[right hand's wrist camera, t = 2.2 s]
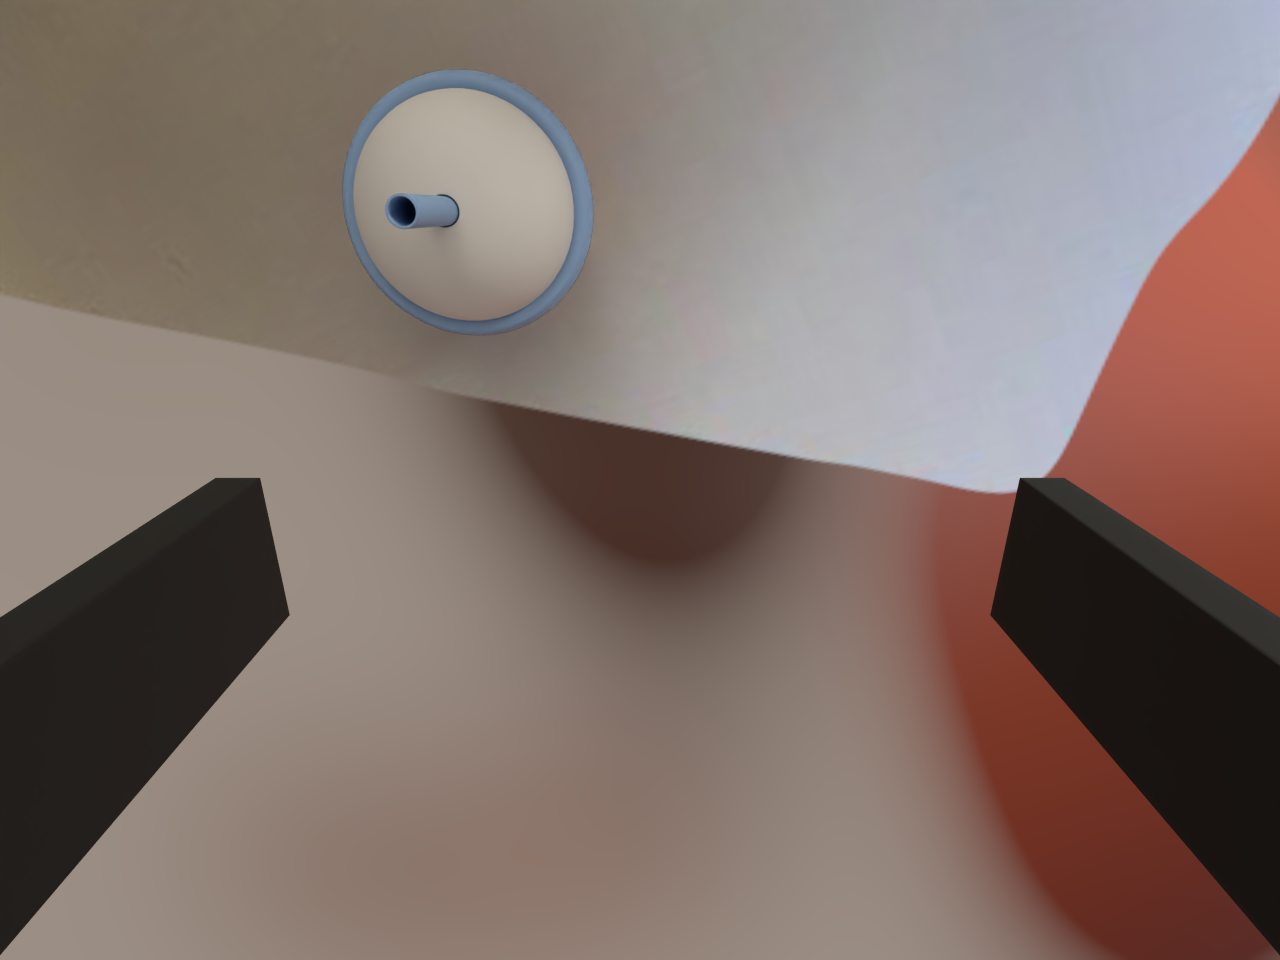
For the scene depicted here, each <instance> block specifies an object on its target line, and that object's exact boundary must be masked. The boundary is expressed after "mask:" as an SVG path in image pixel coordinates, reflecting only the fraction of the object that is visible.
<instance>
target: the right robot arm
mask: <svg viewBox="0 0 1280 960" xmlns="http://www.w3.org/2000/svg"><path fill="white" fill-rule="evenodd" d="M288 616H289V610H288V606H287V601H286V596H285V591H284V587H283V582H282V578H281V573H280V568H279V564H278V559H277V555H276V550H275V545H274V540H273V536H272V531H271V527H270V522H269V517H268V513H267V508H266V503H265V499H264V494H263V489H262V485H261V480H260V478H215V479H213V480H212V481H210V482H209V483H207V484H206V485H204V486H203V487H201V488H200V489H198V490H197V491H195V492H193V493H192V494H190V495H189V496H187V497H186V498H184V499H183V500H181V501H179V502H178V503H176V504H175V505H173V506H172V507H170V508H169V509H167V510H166V511H164V512H162V513H161V514H159V515H158V516H156V517H155V518H153V519H152V520H150V521H149V522H147V523H145V524H144V525H142V526H141V527H139V528H138V529H136V530H135V531H133V532H132V533H130V534H129V535H127V536H125V537H124V538H122V539H121V540H119V541H118V542H116V543H115V544H113V545H111V546H110V547H109V548H107V549H105V550H104V551H102V552H101V553H99V554H98V555H96V556H94V557H93V558H91V559H90V560H88V561H87V562H85V563H84V564H82V565H81V566H79V567H78V568H76V569H74V570H73V571H71V572H70V573H68V574H67V575H65V576H64V577H62V578H61V579H59V580H57V581H56V582H54V583H53V584H51V585H50V586H48V587H47V588H45V589H44V590H42V591H41V592H39V593H37V594H36V595H34V596H33V597H31V598H30V599H28V600H27V601H25V602H23V603H22V604H20V605H19V606H17V607H16V608H14V609H13V610H11V611H10V612H8V613H6V614H5V615H3V616H2V617H0V955H1V954H2V952H3V951H4V950H5V949H6V948H7V946H8V945H9V944H10V943H11V942H12V941H13V939H14V938H15V937H16V936H17V935H18V934H19V932H20V931H21V930H22V929H23V928H24V927H25V925H26V924H27V923H28V922H29V921H30V919H31V918H32V917H33V916H34V915H35V914H36V912H37V911H38V910H39V909H40V908H41V907H42V905H43V904H44V903H45V902H46V901H47V899H48V898H49V897H50V896H51V895H52V894H53V892H54V891H55V890H56V889H57V888H58V886H59V885H60V884H61V883H62V882H63V881H64V879H65V878H66V877H67V876H68V875H69V874H70V872H71V871H72V870H73V869H74V868H75V867H76V865H77V864H78V863H79V862H80V861H81V860H82V858H83V857H84V856H85V855H86V854H87V852H88V851H89V850H90V849H91V848H92V847H93V845H94V844H95V843H96V842H97V841H98V840H99V838H100V837H101V836H102V835H103V834H104V832H105V831H106V830H107V829H108V828H109V827H110V825H111V824H112V823H113V822H114V821H115V820H116V818H117V817H118V816H119V815H120V814H121V813H122V811H123V810H124V809H125V808H126V807H127V805H128V804H129V803H130V802H131V801H132V800H133V798H134V797H135V796H136V795H137V794H138V793H139V791H140V790H141V789H142V788H143V787H144V785H145V784H146V783H147V782H148V781H149V780H150V778H151V777H152V776H153V775H154V774H155V773H156V771H157V770H158V769H159V768H160V767H161V766H162V764H163V763H164V762H165V761H166V760H167V758H168V757H169V756H170V755H171V754H172V753H173V751H174V750H175V749H176V748H177V747H178V746H179V744H180V743H181V742H182V741H183V740H184V738H185V737H186V736H187V735H188V734H189V733H190V731H191V730H192V729H193V728H194V727H195V726H196V724H197V723H198V722H199V721H200V720H201V719H202V717H203V716H204V715H205V714H206V713H207V711H208V710H209V709H210V708H211V707H212V706H213V704H214V703H215V702H216V701H217V700H218V699H219V697H220V696H221V695H222V694H223V693H224V691H225V690H226V689H227V688H228V687H229V686H230V684H231V683H232V682H233V681H234V680H235V679H236V677H237V676H238V675H239V674H240V673H241V671H242V670H243V669H244V668H245V667H246V666H247V664H248V663H249V662H250V661H251V660H252V659H253V657H254V656H255V655H256V654H257V653H258V652H259V650H260V649H261V648H262V647H263V646H264V644H265V643H266V642H267V641H268V640H269V639H270V637H271V636H272V635H273V634H274V633H275V631H276V630H277V629H278V628H279V627H280V626H281V624H282V623H283V622H284V621H285V620H286V619H287V617H288ZM991 616H992V617H993V619H994V620H995V621H996V622H997V623H998V624H999V626H1000V627H1001V628H1002V629H1003V630H1004V632H1005V633H1006V634H1007V635H1008V636H1009V637H1010V639H1011V640H1012V641H1013V642H1014V643H1015V644H1016V646H1017V647H1018V648H1019V649H1020V650H1021V652H1022V653H1023V654H1024V655H1025V656H1026V657H1027V659H1028V660H1029V661H1030V662H1031V663H1032V664H1033V666H1034V667H1035V668H1036V669H1037V670H1038V671H1039V673H1040V674H1041V675H1042V676H1043V677H1044V679H1045V680H1046V681H1047V682H1048V683H1049V684H1050V686H1051V687H1052V688H1053V689H1054V690H1055V691H1056V693H1057V694H1058V695H1059V696H1060V697H1061V699H1062V700H1063V701H1064V702H1065V703H1066V704H1067V706H1068V707H1069V708H1070V709H1071V710H1072V711H1073V713H1074V714H1075V715H1076V716H1077V717H1078V719H1079V720H1080V721H1081V722H1082V723H1083V724H1084V725H1085V727H1086V728H1087V729H1088V730H1089V731H1090V733H1091V734H1092V735H1093V736H1094V737H1095V738H1096V740H1097V741H1098V742H1099V743H1100V744H1101V746H1102V747H1103V748H1104V749H1105V750H1106V751H1107V753H1108V754H1109V755H1110V756H1111V757H1112V758H1113V760H1114V761H1115V762H1116V763H1117V764H1118V765H1119V767H1120V768H1121V769H1122V770H1123V771H1124V773H1125V774H1126V775H1127V776H1128V777H1129V778H1130V780H1131V781H1132V782H1133V783H1134V784H1135V785H1136V787H1137V788H1138V789H1139V790H1140V791H1141V792H1142V794H1143V795H1144V796H1145V797H1146V798H1147V800H1148V801H1149V802H1150V803H1151V804H1152V805H1153V807H1154V808H1155V809H1156V810H1157V811H1158V813H1159V814H1160V815H1161V816H1162V817H1163V818H1164V820H1165V821H1166V822H1167V823H1168V824H1169V825H1170V827H1171V828H1172V829H1173V830H1174V831H1175V832H1176V834H1177V835H1178V836H1179V837H1180V838H1181V839H1182V841H1183V842H1184V843H1185V844H1186V845H1187V847H1188V848H1189V849H1190V850H1191V851H1192V852H1193V854H1194V855H1195V856H1196V857H1197V858H1198V860H1199V861H1200V862H1201V863H1202V864H1203V865H1204V867H1205V868H1206V869H1207V870H1208V871H1209V872H1210V874H1211V875H1212V876H1213V877H1214V878H1215V879H1216V881H1217V882H1218V883H1219V884H1220V885H1221V887H1222V888H1223V889H1224V890H1225V891H1226V892H1227V894H1228V895H1229V896H1230V897H1231V898H1232V899H1233V901H1234V902H1235V903H1236V904H1237V905H1238V906H1239V908H1240V909H1241V910H1242V911H1243V912H1244V914H1245V915H1246V916H1247V917H1248V918H1249V919H1250V921H1251V922H1252V923H1253V924H1254V925H1255V927H1256V928H1257V929H1258V930H1259V931H1260V932H1261V934H1262V935H1263V936H1264V937H1265V938H1266V939H1267V941H1268V942H1269V943H1270V944H1271V945H1272V946H1273V948H1274V949H1275V950H1276V951H1277V952H1278V954H1279V955H1280V617H1278V616H1277V615H1275V614H1274V613H1272V612H1270V611H1269V610H1267V609H1266V608H1264V607H1263V606H1261V605H1260V604H1258V603H1257V602H1255V601H1253V600H1252V599H1250V598H1249V597H1247V596H1246V595H1244V594H1243V593H1241V592H1240V591H1238V590H1236V589H1235V588H1233V587H1232V586H1230V585H1229V584H1227V583H1226V582H1224V581H1223V580H1221V579H1219V578H1218V577H1216V576H1215V575H1213V574H1212V573H1210V572H1209V571H1207V570H1206V569H1204V568H1202V567H1201V566H1199V565H1198V564H1196V563H1195V562H1193V561H1192V560H1190V559H1189V558H1187V557H1186V556H1184V555H1182V554H1181V553H1179V552H1178V551H1176V550H1175V549H1173V548H1172V547H1170V546H1168V545H1167V544H1165V543H1164V542H1162V541H1161V540H1159V539H1158V538H1156V537H1155V536H1153V535H1151V534H1150V533H1148V532H1147V531H1145V530H1144V529H1142V528H1141V527H1139V526H1138V525H1136V524H1135V523H1133V522H1131V521H1130V520H1128V519H1127V518H1125V517H1124V516H1122V515H1121V514H1119V513H1118V512H1116V511H1114V510H1113V509H1111V508H1110V507H1108V506H1107V505H1105V504H1104V503H1102V502H1100V501H1099V500H1097V499H1096V498H1094V497H1093V496H1091V495H1090V494H1088V493H1087V492H1085V491H1084V490H1082V489H1080V488H1079V487H1077V486H1076V485H1074V484H1073V483H1071V482H1070V481H1068V480H1067V479H1065V478H1020V480H1019V485H1018V489H1017V494H1016V499H1015V503H1014V508H1013V513H1012V517H1011V522H1010V527H1009V531H1008V536H1007V541H1006V545H1005V550H1004V554H1003V559H1002V564H1001V568H1000V573H999V578H998V582H997V587H996V591H995V596H994V601H993V606H992V610H991Z"/></svg>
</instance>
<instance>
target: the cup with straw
mask: <svg viewBox="0 0 1280 960" xmlns="http://www.w3.org/2000/svg"><path fill="white" fill-rule="evenodd" d="M342 193H343V207H344V215H345V220H346V224H347V228H348V232H349V235H350V238H351V241H352V244H353V246H354V248H355V251H356V253H357V255H358V257H359V259H360V261H361V263H362V265H363V266H364V268H365V269H366V271H367V272H368V274H369V276H370V277H371V278H372V279H373V281H374V282H375V283H376V285H377V286H378V287H379V288H380V289H381V290H382V291H383V293H384V294H385V295H386V296H387V297H388V298H390V299H391V300H392V301H393V302H394V303H395V304H396V305H398V306H399V307H400V308H401V309H403V310H404V311H405V312H407V313H409V314H410V315H412V316H413V317H415V318H417V319H419V320H420V321H422V322H424V323H426V324H429V325H431V326H433V327H436V328H439V329H442V330H445V331H448V332H453V333H458V334H465V335H493V334H499V333H504V332H509V331H512V330H515V329H518V328H521V327H523V326H525V325H528V324H530V323H531V322H533V321H535V320H537V319H538V318H540V317H541V316H543V315H544V314H546V313H547V312H548V311H550V310H551V309H552V308H553V307H554V306H555V305H556V304H557V303H558V302H559V301H560V300H561V299H562V298H563V297H564V296H565V295H566V293H567V292H568V291H569V289H570V288H571V287H572V285H573V284H574V282H575V280H576V279H577V277H578V275H579V273H580V271H581V269H582V267H583V265H584V262H585V259H586V257H587V253H588V250H589V246H590V242H591V236H592V229H593V199H592V191H591V186H590V181H589V177H588V174H587V170H586V167H585V164H584V162H583V159H582V157H581V154H580V152H579V150H578V148H577V146H576V144H575V142H574V141H573V139H572V137H571V136H570V134H569V133H568V131H567V129H566V128H565V127H564V126H563V124H562V123H561V122H560V120H559V119H558V118H557V117H556V116H555V115H554V114H553V112H552V111H551V110H550V109H549V108H548V107H547V106H545V105H544V104H543V103H542V102H541V101H540V100H539V99H537V98H536V97H535V96H533V95H532V94H531V93H529V92H528V91H526V90H525V89H523V88H521V87H520V86H518V85H516V84H514V83H512V82H510V81H508V80H506V79H504V78H501V77H498V76H495V75H492V74H488V73H484V72H480V71H473V70H465V69H450V70H440V71H435V72H430V73H426V74H423V75H420V76H417V77H414V78H412V79H410V80H408V81H406V82H404V83H402V84H400V85H399V86H397V87H396V88H394V89H392V90H391V91H390V92H388V93H387V94H386V95H385V96H383V97H382V98H381V99H380V100H379V101H378V102H377V103H376V104H375V105H374V106H373V107H372V108H371V110H370V111H369V112H368V114H367V115H366V116H365V117H364V119H363V121H362V122H361V124H360V126H359V127H358V129H357V131H356V133H355V135H354V137H353V139H352V142H351V145H350V148H349V150H348V154H347V158H346V162H345V167H344V174H343V188H342Z"/></svg>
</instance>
